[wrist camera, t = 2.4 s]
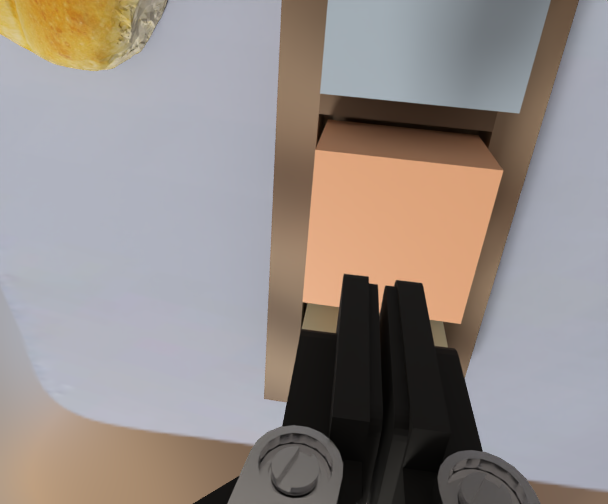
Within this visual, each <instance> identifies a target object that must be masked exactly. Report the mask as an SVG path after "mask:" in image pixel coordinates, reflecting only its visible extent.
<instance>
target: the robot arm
mask: <svg viewBox="0 0 608 504" xmlns="http://www.w3.org/2000/svg"><path fill="white" fill-rule="evenodd" d="M366 503H367V504H540V502H539V499H538V497H537V495H536V493H535V492H534V490H533V489H532V487H531V486H530V484H529V482H528V481H527V479H526V478H525V477H524V476H523V475H522V474H521V473H520V472H519V471H518V470H517V469H516V468H515V467H514V466H512V465H510V464H509V463H507V462H506V461H504V460H503V459H501V458H499V457H497V456H494V455H492V454H489V453H486V452H483V451H482V447H481V443H480V439H479V435H478V431H477V427H476V423H475V419H474V415H473V411H472V407H471V403H470V399H469V395H468V391H467V387H466V383H465V379H464V375H463V371H462V367H461V363H460V359H459V355H458V353H457V350H456V349H455V348H448V347H440V346H435V345H434V340H433V335H432V329H431V324H430V319H429V314H428V308H427V303H426V298H425V293H424V287H423V284H422V283H418V282H410V281H401V280H396V281H395V284H394V286H387V285H386V286H385V288H384V293H383V299H382V304H381V310H380V316H379V295H378V284H370V283H369V277H368V276H359V275H351V274H344V275H343V281H342V289H341V297H340V305H339V312H338V320H337V328H336V333H330V332H323V331H315V330H307V329H301V332H300V337H299V342H298V348H297V353H296V358H295V363H294V368H293V374H292V379H291V384H290V389H289V394H288V399H287V405H286V410H285V415H284V420H283V425H282V427H279V428H276V429H274V430H271V431H269V432H267V433H266V434H265V435H263V436H262V437H261V438H260V439H258V440H257V442H256V443H255V445H254V446H253V448H252V449H251V451H250V453H249V455H248V458H247V460H246V462H245V465H244V467H243V469H242V471H241V474H240V476H238V477H237V478H235V479H233V480H232V481H230V482H228V483H226V484H225V485H223V486H222V487H220V488H218V489H217V490H215V491H213V492H212V493H210V494H208V495H207V496H205V497H203V498H202V499H200V500H198V501H197V502H195V503H193V504H366Z"/></svg>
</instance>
